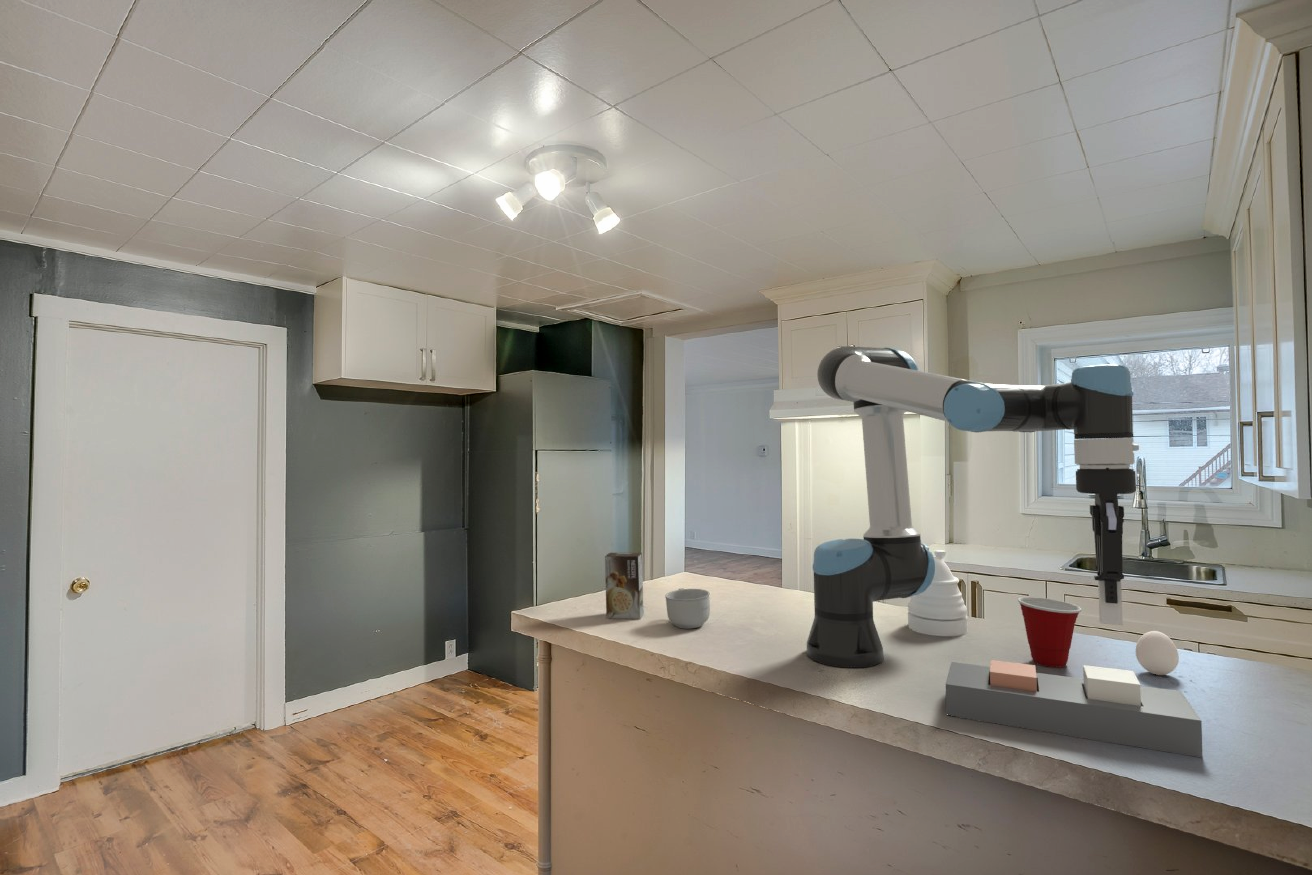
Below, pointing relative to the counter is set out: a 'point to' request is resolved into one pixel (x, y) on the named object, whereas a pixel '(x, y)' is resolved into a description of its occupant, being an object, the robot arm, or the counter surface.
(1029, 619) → the plastic cup
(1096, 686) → the offwhite key
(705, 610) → the teacup
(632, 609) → the coffee box
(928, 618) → the honey pot
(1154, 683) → the counter surface
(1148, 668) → the egg
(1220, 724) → the counter surface
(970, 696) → the key console
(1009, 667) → the terracotta key
